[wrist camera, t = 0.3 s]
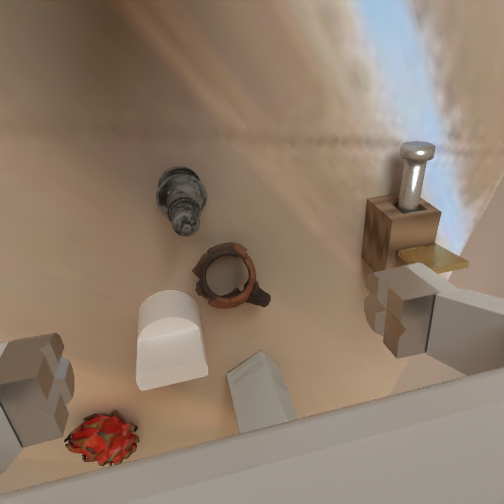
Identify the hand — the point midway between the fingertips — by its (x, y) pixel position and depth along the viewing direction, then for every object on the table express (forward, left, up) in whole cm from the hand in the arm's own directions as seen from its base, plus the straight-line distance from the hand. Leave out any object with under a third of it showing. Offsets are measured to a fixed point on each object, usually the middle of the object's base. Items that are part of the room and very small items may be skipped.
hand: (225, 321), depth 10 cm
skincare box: (+48, +6, -39) cm, 62 cm away
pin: (+18, +29, -37) cm, 50 cm away
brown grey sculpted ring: (+26, +4, -39) cm, 47 cm away
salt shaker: (+12, -1, -39) cm, 41 cm away
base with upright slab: (+32, -6, -39) cm, 51 cm away
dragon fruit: (+53, -21, -39) cm, 69 cm away
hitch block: (+23, +29, -39) cm, 53 cm away
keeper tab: (+23, +29, -28) cm, 47 cm away
